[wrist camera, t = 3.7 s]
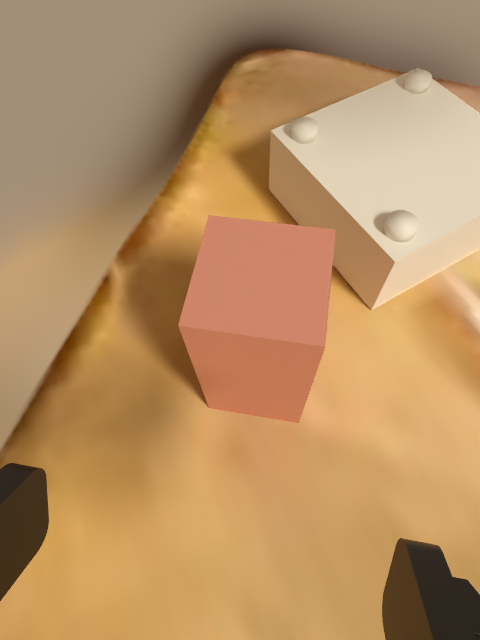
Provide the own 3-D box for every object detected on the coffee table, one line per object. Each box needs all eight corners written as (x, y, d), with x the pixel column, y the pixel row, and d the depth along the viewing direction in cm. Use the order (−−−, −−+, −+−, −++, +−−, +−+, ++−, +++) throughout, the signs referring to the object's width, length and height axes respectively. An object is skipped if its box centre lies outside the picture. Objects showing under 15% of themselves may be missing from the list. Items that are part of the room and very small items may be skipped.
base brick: (396, 131, 33) (421, 57, 28) (513, 230, 28) (569, 162, 23) (268, 189, 30) (271, 120, 25) (371, 310, 25) (399, 253, 20)
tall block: (226, 328, 25) (208, 215, 16) (307, 340, 25) (335, 229, 16) (208, 407, 23) (178, 325, 14) (298, 422, 22) (325, 346, 13)
